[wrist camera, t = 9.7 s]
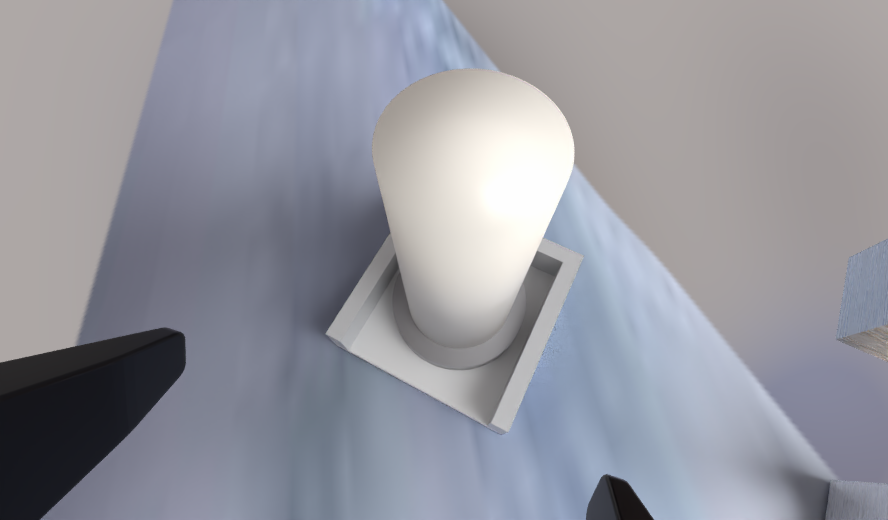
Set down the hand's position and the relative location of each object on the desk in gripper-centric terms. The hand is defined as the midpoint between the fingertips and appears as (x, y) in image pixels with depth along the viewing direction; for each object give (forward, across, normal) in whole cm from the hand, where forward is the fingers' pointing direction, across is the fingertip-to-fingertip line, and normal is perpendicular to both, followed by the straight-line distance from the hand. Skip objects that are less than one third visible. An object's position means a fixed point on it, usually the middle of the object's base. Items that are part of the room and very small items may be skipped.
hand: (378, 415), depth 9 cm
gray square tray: (+14, 0, +4) cm, 15 cm away
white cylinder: (+13, 0, +4) cm, 14 cm away
